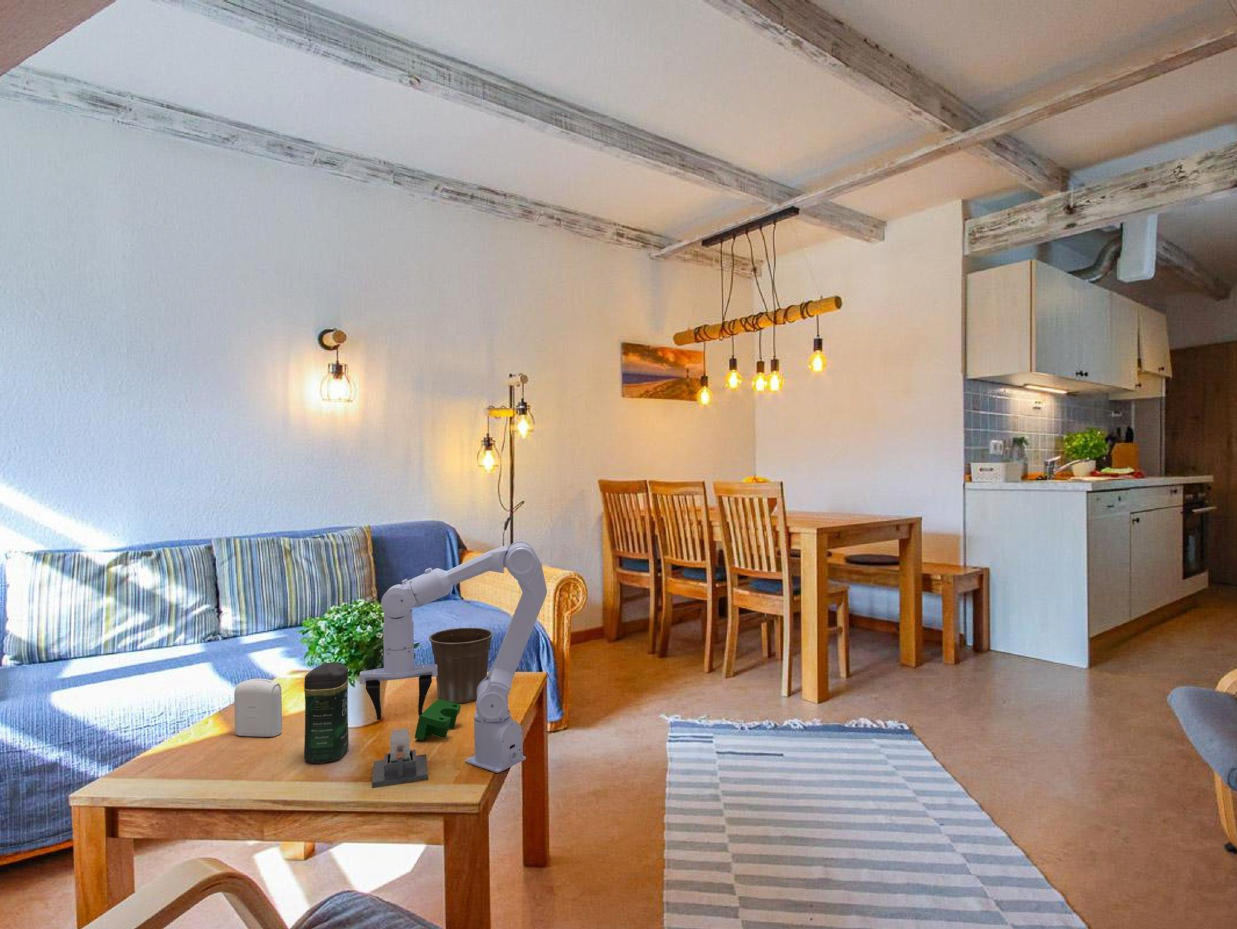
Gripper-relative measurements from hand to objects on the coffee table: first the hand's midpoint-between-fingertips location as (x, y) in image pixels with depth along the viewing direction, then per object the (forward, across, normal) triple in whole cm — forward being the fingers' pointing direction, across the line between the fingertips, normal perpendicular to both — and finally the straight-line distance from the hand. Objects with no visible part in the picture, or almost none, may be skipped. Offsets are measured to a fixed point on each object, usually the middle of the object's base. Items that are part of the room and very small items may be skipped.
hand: (399, 715), depth 137 cm
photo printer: (+11, +31, -30) cm, 44 cm away
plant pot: (+11, -15, -41) cm, 45 cm away
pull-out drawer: (+9, 0, +2) cm, 9 cm away
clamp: (+11, -8, -17) cm, 22 cm away
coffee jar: (+11, +15, -12) cm, 22 cm away
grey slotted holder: (+10, 0, +2) cm, 11 cm away
